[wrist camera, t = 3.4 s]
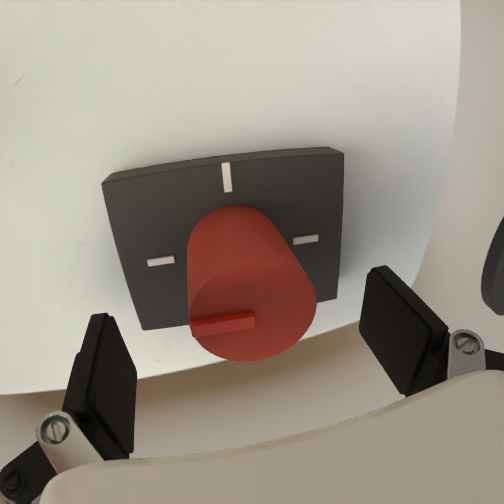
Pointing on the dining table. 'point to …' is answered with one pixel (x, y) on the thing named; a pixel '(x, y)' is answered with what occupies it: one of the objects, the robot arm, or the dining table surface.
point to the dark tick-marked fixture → (214, 197)
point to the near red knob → (245, 286)
